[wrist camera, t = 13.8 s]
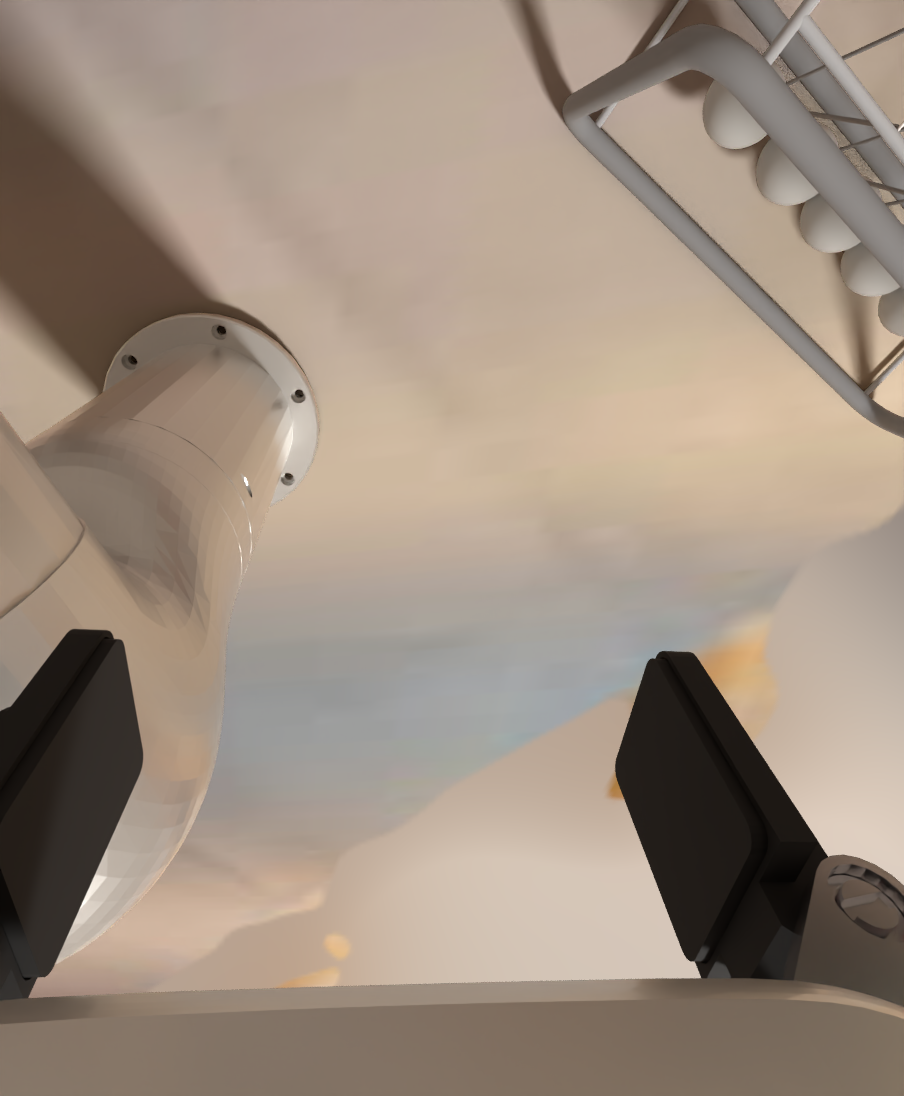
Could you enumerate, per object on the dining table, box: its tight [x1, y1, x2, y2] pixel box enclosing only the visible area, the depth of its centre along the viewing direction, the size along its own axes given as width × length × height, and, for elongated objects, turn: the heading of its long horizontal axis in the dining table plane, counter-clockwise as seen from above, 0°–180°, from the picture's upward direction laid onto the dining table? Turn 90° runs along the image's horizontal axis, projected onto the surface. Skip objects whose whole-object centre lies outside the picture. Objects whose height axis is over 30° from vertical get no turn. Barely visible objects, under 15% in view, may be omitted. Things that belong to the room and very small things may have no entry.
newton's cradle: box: [562, 0, 904, 438], centre depth 29 cm, size 30×10×18 cm, turn 54°
